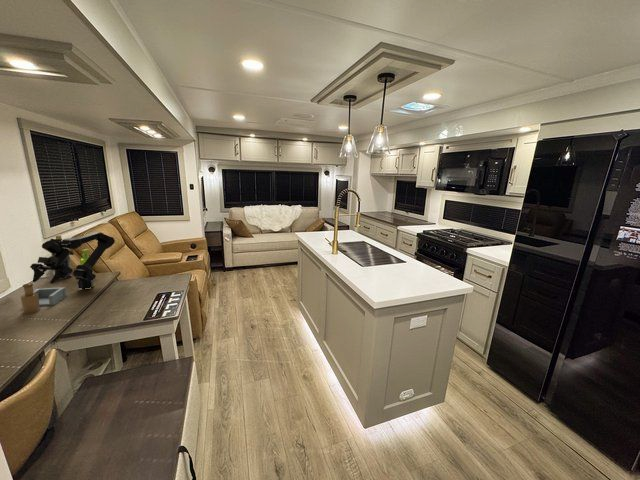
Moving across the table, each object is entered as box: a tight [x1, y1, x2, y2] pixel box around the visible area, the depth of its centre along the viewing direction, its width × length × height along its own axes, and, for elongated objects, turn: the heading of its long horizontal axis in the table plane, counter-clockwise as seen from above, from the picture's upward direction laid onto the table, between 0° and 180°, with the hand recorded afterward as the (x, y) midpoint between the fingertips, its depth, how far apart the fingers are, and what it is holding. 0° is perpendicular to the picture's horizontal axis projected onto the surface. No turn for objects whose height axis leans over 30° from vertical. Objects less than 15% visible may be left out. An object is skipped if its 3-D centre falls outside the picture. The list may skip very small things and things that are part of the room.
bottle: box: [50, 234, 73, 279], centre depth 179 cm, size 9×9×30 cm
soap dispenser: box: [79, 248, 94, 274], centre depth 185 cm, size 6×7×20 cm
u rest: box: [33, 287, 67, 307], centre depth 147 cm, size 12×13×6 cm
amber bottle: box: [20, 282, 41, 315], centre depth 135 cm, size 6×6×15 cm
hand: (42, 282), depth 141 cm, fingers open, 9 cm apart
